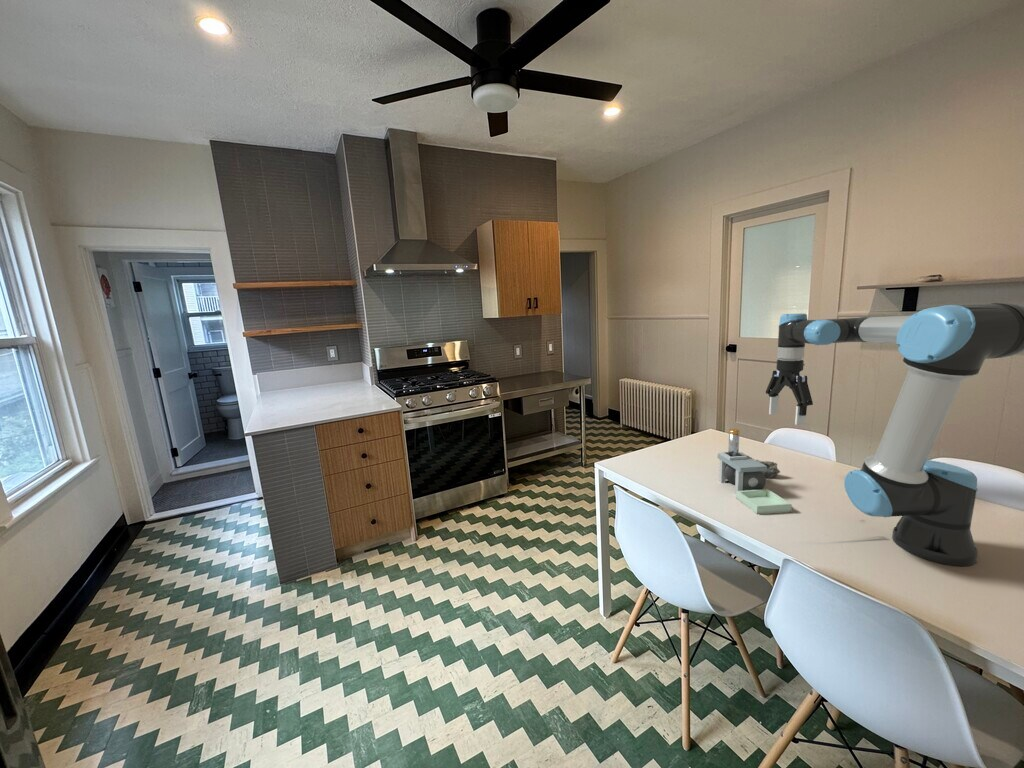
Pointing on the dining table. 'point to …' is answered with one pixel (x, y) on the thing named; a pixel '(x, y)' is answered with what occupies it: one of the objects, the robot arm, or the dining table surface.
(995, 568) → the dining table surface
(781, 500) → the tray
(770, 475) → the rock
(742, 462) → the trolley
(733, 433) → the pin
